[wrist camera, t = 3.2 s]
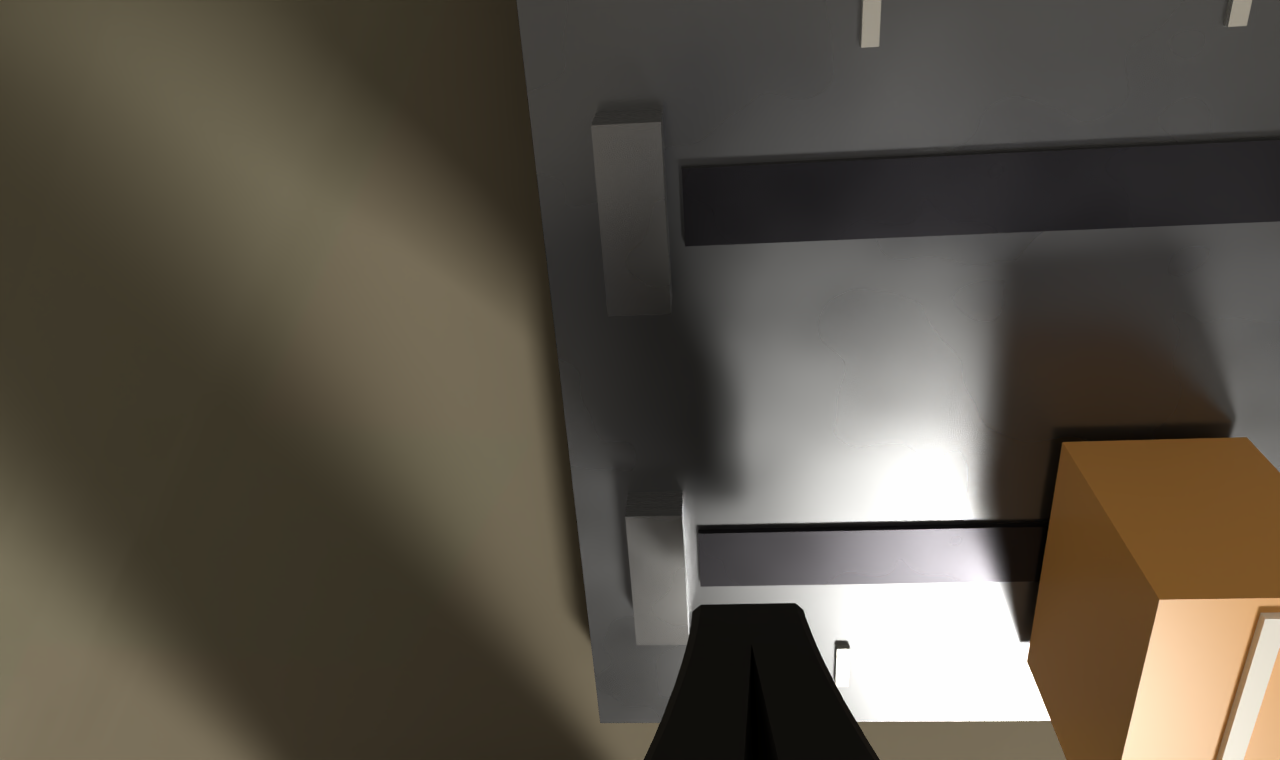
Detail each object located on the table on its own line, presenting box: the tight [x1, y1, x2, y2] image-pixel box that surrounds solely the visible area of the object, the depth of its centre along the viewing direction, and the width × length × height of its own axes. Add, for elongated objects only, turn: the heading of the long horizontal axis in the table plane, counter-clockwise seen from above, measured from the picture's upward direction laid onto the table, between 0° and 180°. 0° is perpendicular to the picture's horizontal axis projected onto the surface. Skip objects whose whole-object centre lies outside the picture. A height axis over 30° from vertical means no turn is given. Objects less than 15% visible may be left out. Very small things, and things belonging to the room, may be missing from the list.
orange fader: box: [1027, 437, 1280, 760], centre depth 13 cm, size 2×4×3 cm, turn 3°
